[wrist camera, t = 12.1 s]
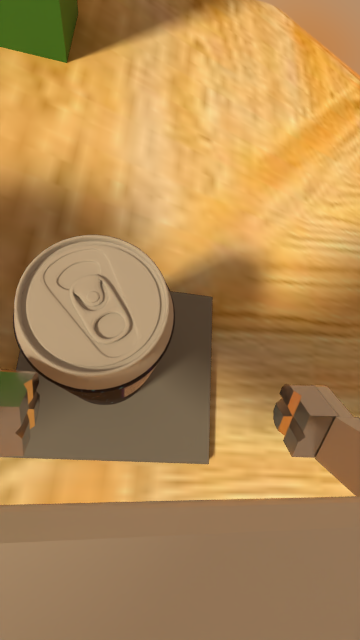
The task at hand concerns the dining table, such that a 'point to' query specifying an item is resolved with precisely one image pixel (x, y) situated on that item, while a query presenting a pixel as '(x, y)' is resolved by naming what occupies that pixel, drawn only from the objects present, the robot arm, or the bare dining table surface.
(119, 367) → the beverage can
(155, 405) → the mat
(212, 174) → the dining table surface
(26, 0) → the hardback book
